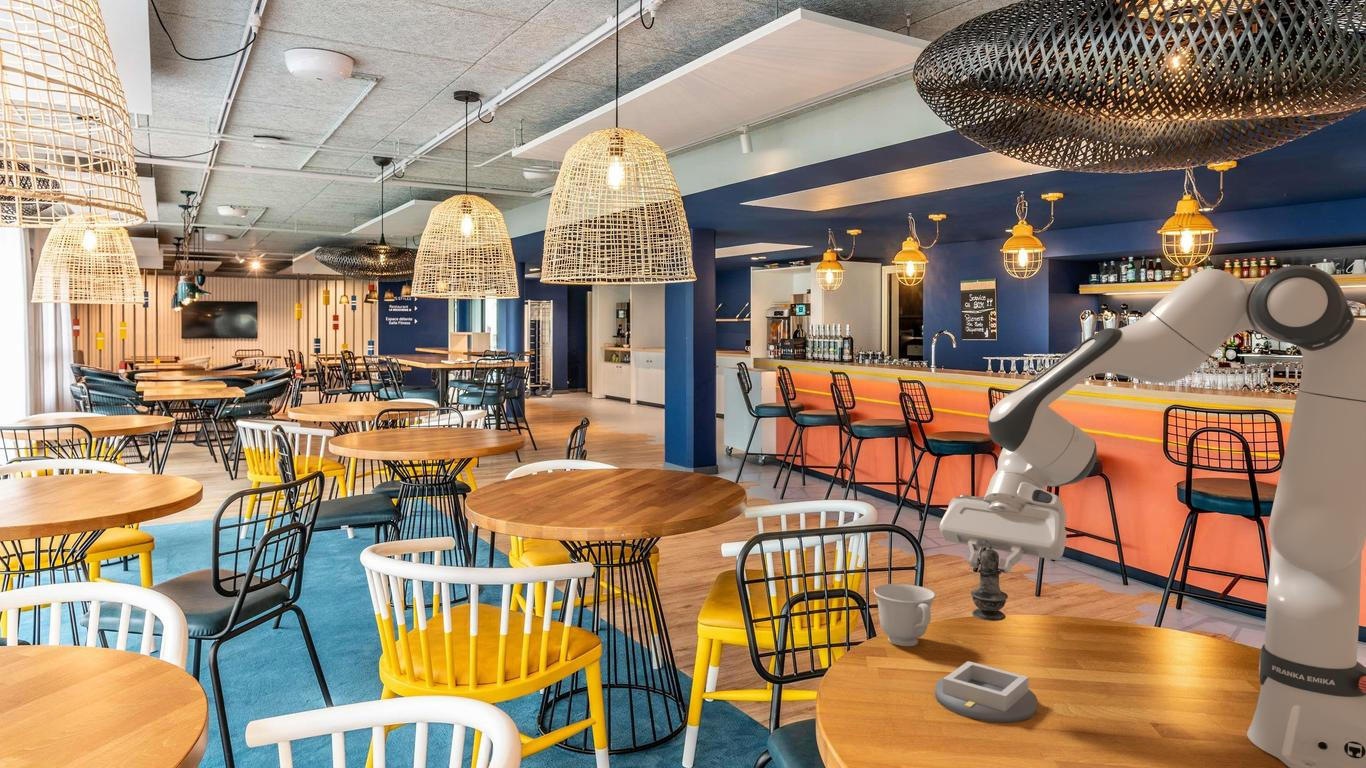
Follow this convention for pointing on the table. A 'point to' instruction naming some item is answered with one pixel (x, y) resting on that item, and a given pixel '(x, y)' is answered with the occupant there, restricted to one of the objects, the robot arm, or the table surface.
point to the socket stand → (987, 694)
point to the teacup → (904, 612)
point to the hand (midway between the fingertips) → (988, 568)
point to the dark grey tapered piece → (989, 589)
